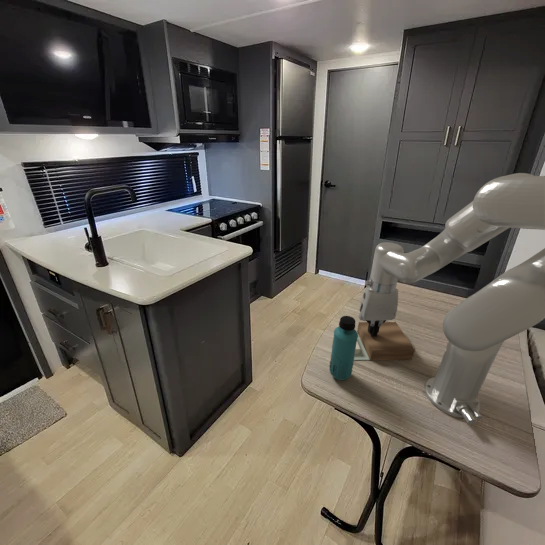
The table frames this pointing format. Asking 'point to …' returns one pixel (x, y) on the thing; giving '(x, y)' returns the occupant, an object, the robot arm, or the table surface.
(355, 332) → the beverage bottle
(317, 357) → the table surface
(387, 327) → the flat brown wooden block
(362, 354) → the mat
